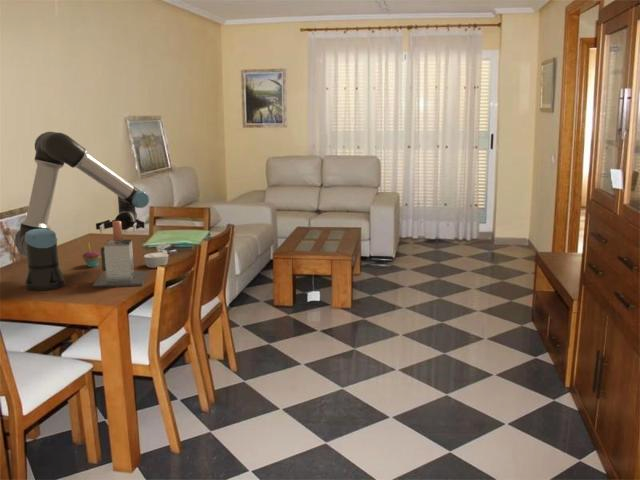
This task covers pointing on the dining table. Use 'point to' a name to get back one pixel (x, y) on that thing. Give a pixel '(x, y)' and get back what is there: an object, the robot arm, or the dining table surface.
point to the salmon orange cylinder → (117, 231)
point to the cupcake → (91, 257)
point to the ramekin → (156, 259)
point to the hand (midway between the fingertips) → (117, 229)
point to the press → (118, 266)
